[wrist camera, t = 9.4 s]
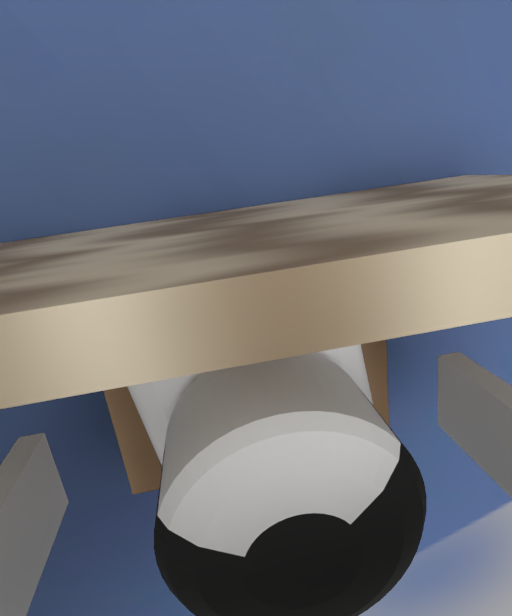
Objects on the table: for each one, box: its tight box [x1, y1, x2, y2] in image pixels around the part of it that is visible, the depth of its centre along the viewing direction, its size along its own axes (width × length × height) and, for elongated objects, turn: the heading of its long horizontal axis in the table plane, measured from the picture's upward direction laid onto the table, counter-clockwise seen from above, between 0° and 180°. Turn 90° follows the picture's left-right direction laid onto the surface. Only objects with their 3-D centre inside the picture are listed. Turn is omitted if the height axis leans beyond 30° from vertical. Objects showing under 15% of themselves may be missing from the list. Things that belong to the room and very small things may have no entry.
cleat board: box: [0, 175, 512, 494], centre depth 15 cm, size 24×13×13 cm, turn 98°
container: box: [127, 344, 426, 616], centre depth 15 cm, size 8×8×13 cm
